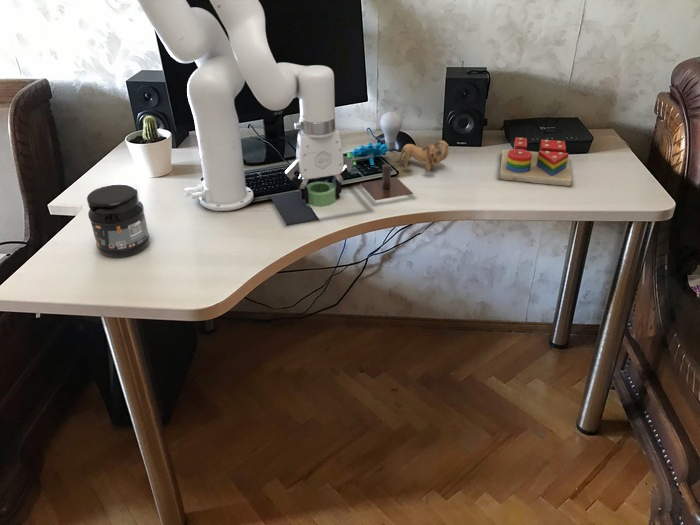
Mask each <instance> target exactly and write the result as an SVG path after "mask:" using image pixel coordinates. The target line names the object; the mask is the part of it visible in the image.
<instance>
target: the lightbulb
mask: <svg viewBox="0 0 700 525" xmlns="http://www.w3.org/2000/svg"><path fill="white" fill-rule="evenodd" d="M379 126H380V128H381V131H382V133H383V135H384V142H385V144H387V147H388V149H389V151H392V150H394V149H395V148H396V142H397V138H398V134H399V132H400V131H401V129H402V126H403V119H402V117H401V116H400V114H399V113H398V112H395V111H387V112H385V113H384V114H383V115H382V116H381V118H380V120H379Z"/></svg>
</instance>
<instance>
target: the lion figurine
mask: <svg viewBox="0 0 700 525" xmlns="http://www.w3.org/2000/svg"><path fill="white" fill-rule="evenodd" d="M449 154H450V153H449V144H448V143H447V142H446V141H445V140H438V141H436V142H434V143H433V144H429V145H427V146H425V147H420V146H417V145H415V144H413V143H407V144H405V145H404V146H403V147H402V149H401V151H400V154H399V156H398V159H397V161H395V163H396V164H399V163H400V161H401V162H404V163H403V165H404V167H408V163H409V161H410V159H411V157H412V158H413V159H414V160H415V161H416V162H418V163H424V164H425V166H426V168H425V169H426V172H431V169H432V168H433V165H439V164H440V163H441V162H442V161H444V160H446V159H447V157H448V156H449Z"/></svg>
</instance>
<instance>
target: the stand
mask: <svg viewBox="0 0 700 525" xmlns="http://www.w3.org/2000/svg"><path fill="white" fill-rule="evenodd" d="M381 171H382V173H381V174H382V176H381V178H382V179H378V180H373V181H367V182H360V183H359V184H360V186H361V187H362V188H363V189H364V191H366V192H367V194H368V195H369V196H370V197H371V198H372V199H373V200H374V201H380V200H387V199H391V198H398V197H403V196H404V197H405V196H408V195H409V196H410V195H414V193H413V192H412V191H411V190H410V189H409V188H408V187H407V186H406V185H405V184H404V183H403V182H402V181H401V180H400V179H399V178H398V177H391V176H392V164H390V163H383V164H382V170H381Z"/></svg>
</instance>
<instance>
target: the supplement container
mask: <svg viewBox="0 0 700 525" xmlns="http://www.w3.org/2000/svg"><path fill="white" fill-rule="evenodd" d="M86 201H87V205H88V208H89V209H88V213H87V216H88V219H89V222H90V224H91V228H92V231H93V235H94V240H95V244H96V248H97V250H98V251H99V252H100V254H102V255H104V256H107V257H112V258H123V257H128V256H132V255H135V254H137V253H139V252H141V251H142V250H144V249H145V248H147V246H148V245H149V242H150V241H151V240H150V239H151V238H150V233H149V228H148V224H147V219H146V215H145V207H144V204H143V202H141V200H140V196H139V192H138V189H137V188H136V187H134V186H133V185H129V184H123V183H115V184H107V185H104V186H100V187H98V188H96V189H94V190H92V191H91V192H90V193H88V195H87V197H86Z"/></svg>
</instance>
